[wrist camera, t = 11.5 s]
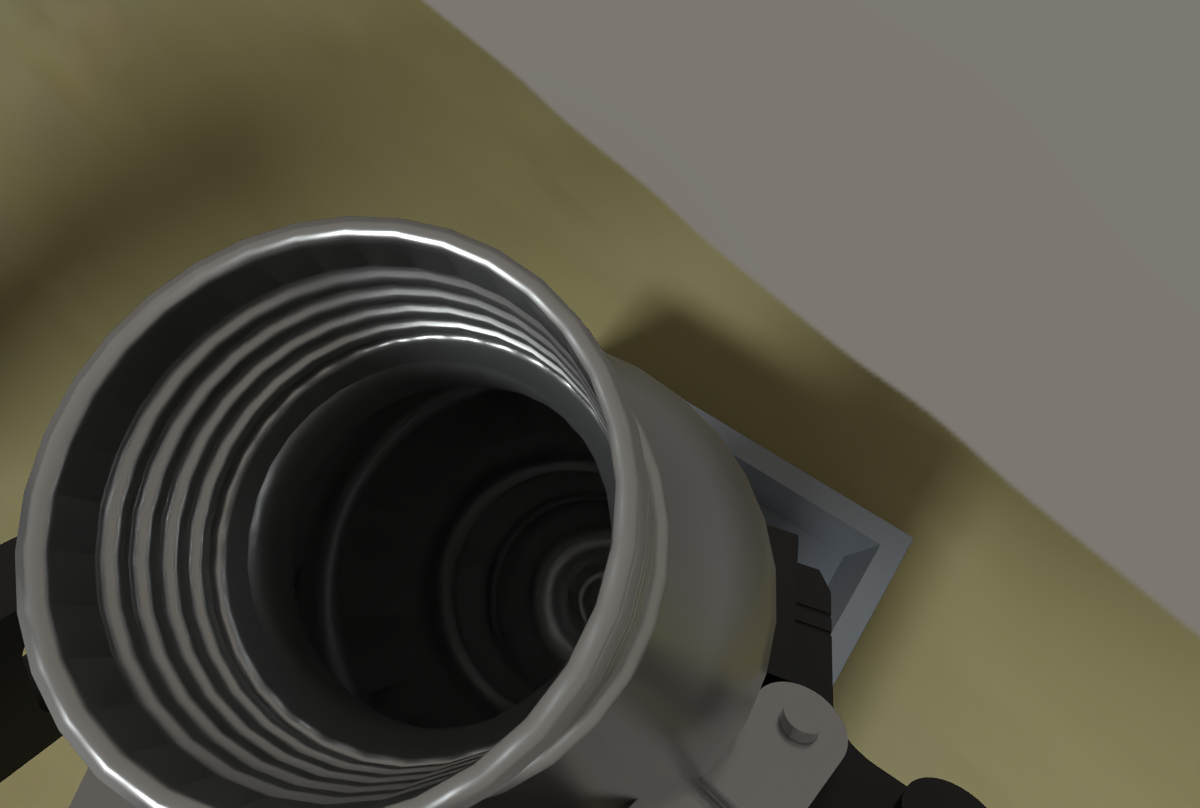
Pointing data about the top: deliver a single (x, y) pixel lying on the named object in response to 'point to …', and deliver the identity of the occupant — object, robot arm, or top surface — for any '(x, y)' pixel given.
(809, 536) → the tray
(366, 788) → the plastic bottle
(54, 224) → the top surface
